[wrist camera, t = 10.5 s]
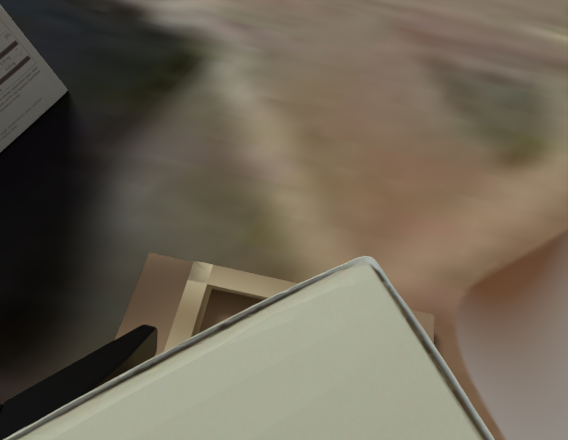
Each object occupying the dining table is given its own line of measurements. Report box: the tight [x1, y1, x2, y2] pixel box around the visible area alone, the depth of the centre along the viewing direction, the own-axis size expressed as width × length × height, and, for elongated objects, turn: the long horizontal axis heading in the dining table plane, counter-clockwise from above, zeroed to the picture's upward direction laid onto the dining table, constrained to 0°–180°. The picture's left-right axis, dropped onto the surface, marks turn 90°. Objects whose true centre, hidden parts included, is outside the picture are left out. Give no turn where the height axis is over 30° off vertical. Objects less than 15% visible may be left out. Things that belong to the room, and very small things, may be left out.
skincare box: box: [4, 256, 495, 440], centre depth 9 cm, size 6×4×12 cm
